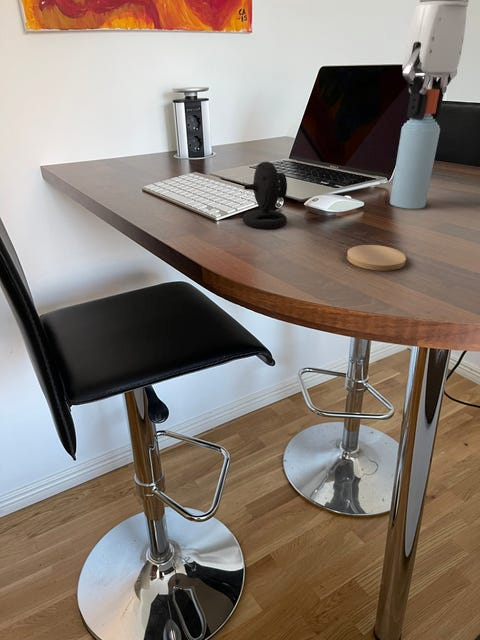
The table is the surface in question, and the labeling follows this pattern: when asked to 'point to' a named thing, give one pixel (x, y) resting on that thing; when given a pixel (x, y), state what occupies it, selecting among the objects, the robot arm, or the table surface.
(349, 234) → the table surface
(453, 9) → the robot arm
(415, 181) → the bottle
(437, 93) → the cap
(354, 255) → the coaster
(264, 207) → the webcam
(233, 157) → the table surface
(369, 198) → the table surface
